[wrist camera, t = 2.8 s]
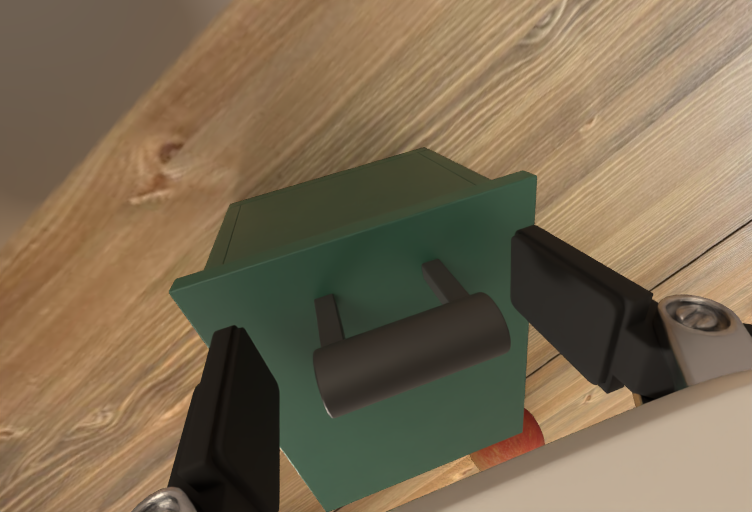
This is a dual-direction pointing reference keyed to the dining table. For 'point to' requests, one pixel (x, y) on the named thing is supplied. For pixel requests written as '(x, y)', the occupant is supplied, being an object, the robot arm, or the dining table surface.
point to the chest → (336, 202)
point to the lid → (385, 336)
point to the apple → (510, 445)
